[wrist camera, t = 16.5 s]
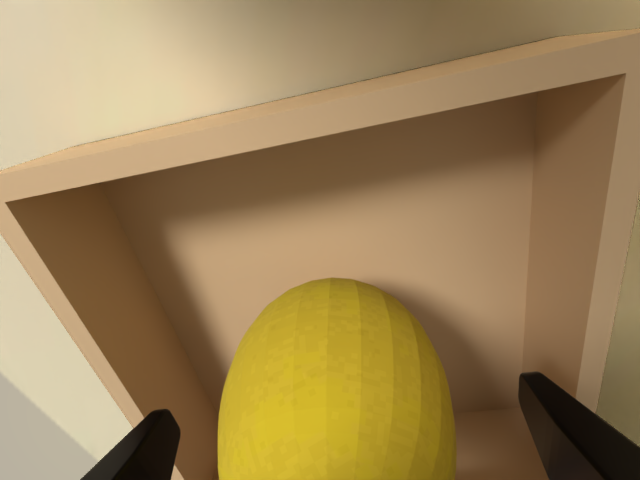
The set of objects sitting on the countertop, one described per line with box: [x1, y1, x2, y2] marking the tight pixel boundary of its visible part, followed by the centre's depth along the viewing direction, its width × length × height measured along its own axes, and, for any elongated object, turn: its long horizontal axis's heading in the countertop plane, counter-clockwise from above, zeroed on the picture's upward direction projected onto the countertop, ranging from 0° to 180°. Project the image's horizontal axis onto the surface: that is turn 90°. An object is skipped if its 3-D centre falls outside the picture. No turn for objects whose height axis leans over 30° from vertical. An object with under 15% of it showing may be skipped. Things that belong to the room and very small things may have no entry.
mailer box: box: [0, 28, 640, 480], centre depth 11 cm, size 14×14×4 cm
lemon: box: [218, 278, 457, 480], centre depth 9 cm, size 6×6×8 cm
